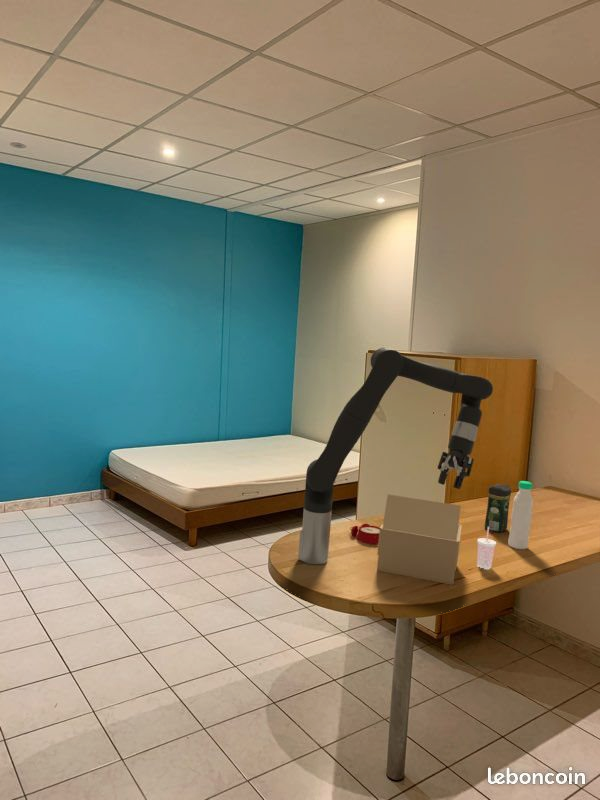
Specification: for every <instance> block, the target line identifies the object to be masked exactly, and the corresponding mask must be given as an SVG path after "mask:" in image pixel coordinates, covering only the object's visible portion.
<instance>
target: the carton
mask: <svg viewBox="0 0 600 800" xmlns="http://www.w3.org/2000/svg"><path fill="white" fill-rule="evenodd" d="M379 528H380V532H379V543H378V544H377V554H376V555H377V556H378V557H377V565H376V566H377V567H376V571H378V572H383V573H388V574H393V575H399V576H403V577H408V578H415V579H419V578H420V579H419V580H424V579H425V581H430V580H431V581H432V582H435V583H441V584H447V585H452V586H453V585H454V582H455V575H456V570H457V568H458V561H459V555H460V546H461V545H460V544H461V539H462V538H461V537H462V529H463V525H462V524H458V532H457V541H453V540H447V539H441V538H435V537H430V536H424V535H418V534H412V533H406V532H400V531H394V530H388V529H383V523H382V524H381V526H380V527H379ZM431 581H430V582H431Z"/></svg>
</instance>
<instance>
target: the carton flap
mask: <svg viewBox="0 0 600 800" xmlns="http://www.w3.org/2000/svg"><path fill="white" fill-rule="evenodd" d="M461 506H462V505H459V504H452V503H447V502H441V501H440V502H439V501H432V500H428V499H427V500H426V499H419V498H413V497H409V496H408V497H406V496H400V495H393V494H387V497H386V502H385V510H384V515H383V523H382V524H383V529H388V530H394V531H400V532H406V533H412V534H418V535H424V536H430V537H435V538H441V539H447V540H453V541H457V532H458V524H459V522H460V514H461Z"/></svg>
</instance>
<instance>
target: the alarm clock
mask: <svg viewBox="0 0 600 800" xmlns="http://www.w3.org/2000/svg"><path fill="white" fill-rule="evenodd" d="M349 530H350V535H351V537H355V538H356V540H357V541H359V542H361V543H364V544H370V545H378V543H379V532H380V527H379V526H376V525H370V524H368V523H363V524H361V526H357V525H354V526H351V527H350V528H349Z"/></svg>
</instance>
